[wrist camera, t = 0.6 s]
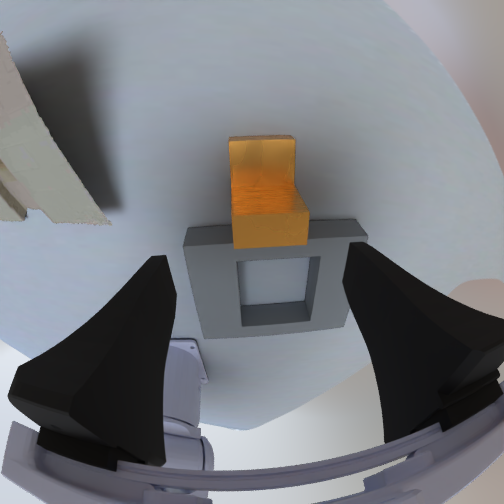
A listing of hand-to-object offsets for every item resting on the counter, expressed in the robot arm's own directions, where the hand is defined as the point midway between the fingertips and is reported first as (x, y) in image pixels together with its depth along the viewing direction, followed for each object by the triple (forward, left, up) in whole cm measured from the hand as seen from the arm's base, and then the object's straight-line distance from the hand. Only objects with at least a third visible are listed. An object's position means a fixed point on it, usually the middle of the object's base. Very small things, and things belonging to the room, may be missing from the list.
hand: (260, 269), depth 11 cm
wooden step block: (+1, -1, -10) cm, 10 cm away
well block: (-8, -2, -9) cm, 13 cm away
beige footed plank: (+6, +17, -10) cm, 21 cm away
